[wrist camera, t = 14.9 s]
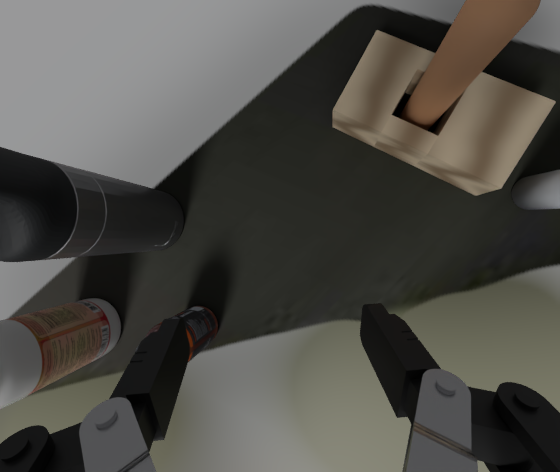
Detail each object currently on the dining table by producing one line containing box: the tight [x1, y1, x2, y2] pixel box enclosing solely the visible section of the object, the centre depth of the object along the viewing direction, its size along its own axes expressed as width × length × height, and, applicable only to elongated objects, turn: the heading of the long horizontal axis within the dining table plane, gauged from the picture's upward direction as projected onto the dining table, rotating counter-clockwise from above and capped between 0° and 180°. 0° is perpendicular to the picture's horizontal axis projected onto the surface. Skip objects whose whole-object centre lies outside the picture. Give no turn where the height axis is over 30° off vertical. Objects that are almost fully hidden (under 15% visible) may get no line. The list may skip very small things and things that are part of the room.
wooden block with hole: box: [333, 30, 556, 196], centre depth 32 cm, size 20×10×5 cm, turn 60°
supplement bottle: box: [136, 306, 218, 362], centre depth 34 cm, size 6×6×11 cm
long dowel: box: [399, 0, 540, 131], centre depth 25 cm, size 4×4×18 cm
